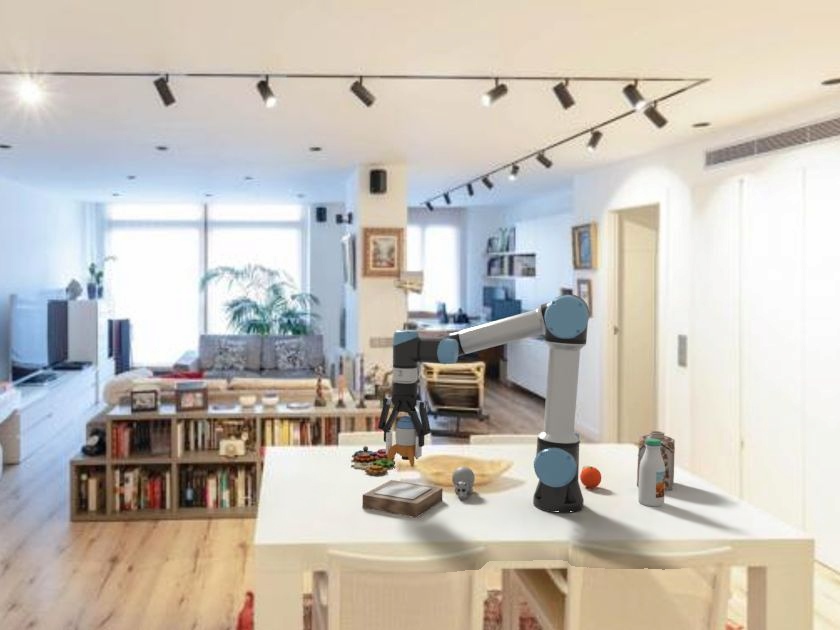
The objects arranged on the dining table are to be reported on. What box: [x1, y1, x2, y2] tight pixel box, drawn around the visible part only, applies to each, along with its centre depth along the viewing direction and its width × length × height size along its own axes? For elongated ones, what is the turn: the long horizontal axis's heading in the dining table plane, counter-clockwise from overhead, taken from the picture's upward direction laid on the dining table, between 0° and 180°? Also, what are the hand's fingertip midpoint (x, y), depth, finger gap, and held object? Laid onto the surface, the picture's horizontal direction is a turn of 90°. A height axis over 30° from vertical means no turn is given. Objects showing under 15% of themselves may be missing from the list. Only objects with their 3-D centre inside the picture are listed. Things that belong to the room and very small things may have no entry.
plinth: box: [361, 479, 443, 518], centre depth 226 cm, size 18×18×4 cm
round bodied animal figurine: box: [451, 466, 476, 500], centre depth 236 cm, size 7×12×8 cm, turn 170°
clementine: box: [579, 465, 602, 489], centre depth 247 cm, size 8×7×7 cm
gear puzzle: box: [350, 445, 396, 475], centre depth 272 cm, size 31×16×4 cm, turn 4°
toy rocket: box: [387, 415, 419, 468], centre depth 225 cm, size 10×11×15 cm
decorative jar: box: [636, 430, 676, 491], centre depth 251 cm, size 12×12×18 cm
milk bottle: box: [637, 438, 666, 507], centre depth 231 cm, size 8×8×20 cm
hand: (403, 454), depth 225 cm, fingers closed on toy rocket, 9 cm apart
